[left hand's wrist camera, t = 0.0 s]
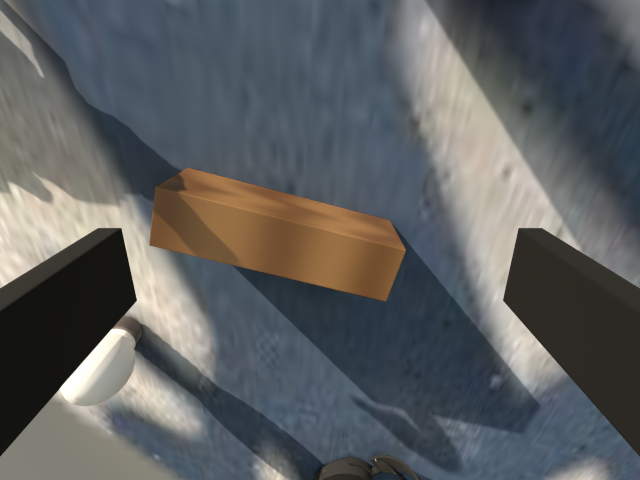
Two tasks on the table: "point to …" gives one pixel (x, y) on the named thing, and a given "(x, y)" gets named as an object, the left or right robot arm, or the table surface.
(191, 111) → the table surface
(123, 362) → the light bulb
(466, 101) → the table surface
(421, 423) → the table surface
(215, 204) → the bar
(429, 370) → the table surface
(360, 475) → the headphones
